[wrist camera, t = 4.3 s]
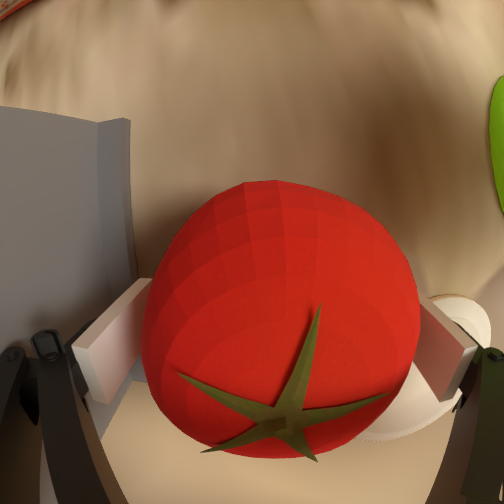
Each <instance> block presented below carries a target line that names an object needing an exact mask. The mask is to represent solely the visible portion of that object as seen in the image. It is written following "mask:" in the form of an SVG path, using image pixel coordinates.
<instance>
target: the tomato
mask: <svg viewBox="0 0 504 504" xmlns="http://www.w3.org/2000/svg"><path fill="white" fill-rule="evenodd" d="M420 331H421V330H420V302H419V297H418V292H417V287H416V283H415V280H414V277H413V274H412V271H411V268H410V266H409V263H408V260H407V259H406V257H405V256H404V254H403V253H402V251H401V250H400V248H399V247H398V245H397V244H396V242H395V241H394V239H393V238H392V237H391V235H390V234H389V232H388V231H387V230H386V228H385V227H384V226H383V225H382V224H380V223H379V222H378V221H377V220H376V219H375V218H374V217H373V216H371V215H370V214H369V213H368V212H367V211H366V210H365V209H363V208H361V207H359V206H357V205H355V204H353V203H351V202H349V201H347V200H345V199H343V198H341V197H340V196H337V195H334V194H331V193H328V192H325V191H322V190H319V189H315V188H312V187H309V186H304V185H299V184H294V183H289V182H283V181H278V180H273V181H258V182H244V183H242V184H240V185H237V186H235V187H233V188H231V189H228V190H226V191H224V192H222V193H220V194H217V195H215V196H214V197H213V198H212V199H210V200H209V201H208V202H207V203H205V204H204V205H203V206H202V207H201V208H199V209H198V210H197V211H196V212H195V213H193V214H192V215H191V217H190V218H189V219H188V220H187V222H186V223H185V224H184V225H183V226H182V228H181V229H180V230H179V231H178V233H177V234H176V235H175V237H174V238H173V240H172V242H171V244H170V246H169V247H168V249H167V251H166V253H165V255H164V256H163V258H162V260H161V262H160V264H159V266H158V268H157V270H156V272H155V275H154V278H153V281H152V284H151V288H150V291H149V294H148V297H147V302H146V307H145V312H144V317H143V324H142V336H141V361H142V365H143V368H144V372H145V375H146V379H147V382H148V385H149V388H150V392H151V395H152V396H153V398H154V400H155V402H156V404H157V405H158V407H159V409H160V410H161V411H162V413H163V414H164V415H165V416H166V417H167V418H168V419H169V420H170V421H171V422H172V423H173V424H174V425H175V426H176V427H177V428H178V429H180V430H181V431H182V432H183V433H185V434H186V435H188V436H190V437H191V438H193V439H195V440H196V441H198V442H200V443H203V444H205V445H208V446H210V447H212V448H211V449H208V450H205V451H202V452H211V451H218V450H221V451H225V452H228V453H231V454H236V455H241V456H247V457H254V458H296V457H304V456H306V457H308V458H310V459H312V460H314V461H316V462H318V461H317V459H316V457H315V456H314V455H316V454H319V453H324V452H327V451H331V450H333V449H335V448H337V447H339V446H341V445H344V444H346V443H348V442H349V441H350V440H352V439H353V438H355V437H356V436H357V435H359V434H360V433H361V432H363V431H364V430H365V429H366V428H368V427H369V426H370V425H371V424H372V423H373V422H374V421H375V420H376V419H377V418H378V417H379V416H380V415H381V414H382V413H383V412H384V411H385V410H386V409H387V408H388V407H389V405H390V404H391V403H392V402H393V400H394V399H395V398H396V396H397V395H398V394H399V392H400V390H401V388H402V386H403V384H404V382H405V380H406V378H407V376H408V374H409V371H410V367H411V364H412V361H413V357H414V354H415V350H416V347H417V343H418V339H419V335H420ZM202 452H201V453H202Z"/></svg>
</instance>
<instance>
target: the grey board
mask: <svg viewBox="0 0 504 504" xmlns="http://www.w3.org/2000/svg"><path fill="white" fill-rule="evenodd" d="M137 280H138V272H137V264H136V256H135V246H134V236H133V224H132V210H131V191H130V120H128V119H125V118H119V119H114V120H109V121H104V122H99V123H97V122H92V121H88V120H83V119H78V118H73V117H68V116H63V115H58V114H52V113H46V112H40V111H34V110H27V109H20V108H12V107H4V106H0V355H1V354H2V353H3V352H4V351H5V350H6V349H7V348H10V347H15V346H18V347H21V348H23V349H24V351H25V353H26V356H27V357H30V358H36V355H35V353H34V351H33V348H32V346H31V343H30V339H31V337H32V336H33V335H34V334H35V333H37V332H39V331H41V330H44V329H55V330H57V331H58V332H59V334H60V337H61V340H62V342H63V345H65V344H66V343H67V342H68V341H69V340H70V339H71V338H72V337H73V336H74V335H75V334H76V333H77V332H78V331H79V330H80V329H81V328H82V327H83V326H84V325H85V324H86V323H87V322H88V321H90V320H92V319H94V318H99V317H100V316H101V315H102V314H103V313H104V312H105V311H106V310H107V309H108V308H109V307H110V306H111V305H112V304H113V303H114V302H115V301H116V300H117V299H118V298H119V297H120V296H121V295H122V294H123V293H124V292H125V291H126V290H127V289H129V288H130V287H131V286H132V285H133V284H134V283H135V282H136V281H137ZM133 380H134V381H139V382H145V383H148V382H147V379H146V375H145V372H144V368H143V365H142V361H141V353H140V354H139V356H138V358H137V359H136V361H135V363H134V364H133V366H132V367H131V369H130V371H129V372H128V374H127V376H126V377H125V379H124V381H123V382H122V384H121V386H120V387H119V389H118V391H117V392H116V394H115V396H114V397H113V399H112V401H111V402H110V404H109V405H108V404H104V403H101V402H97V401H94V400H93V398H92V396H91V394H90V392H89V391H88V392H87V394H86V395H85V398H86V400H87V402H88V406H89V409H90V412H91V416H92V419H93V422H94V425H95V428H96V431H97V433H98V436H99V439H100V440H101V439H102V437H103V435H104V433H105V431H106V429H107V427H108V425H109V423H110V421H111V419H112V417H113V416H114V414H115V412H116V410H117V408H118V406H119V404H120V403H121V401H122V399H123V397H124V395H125V393H126V392H127V390H128V388H129V386H130V384H131V382H132V381H133ZM40 504H58V502H57V499H56V495H55V492H54V488H53V485H52V481H51V477H50V473H49V469H48V464H47V459H46V454H45V449H44V443H43V440H42V450H41V464H40Z"/></svg>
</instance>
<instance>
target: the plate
mask: <svg viewBox="0 0 504 504" xmlns="http://www.w3.org/2000/svg"><path fill="white" fill-rule="evenodd" d="M429 300H430V301H431V302H433V303H434V304H435V305H436V306H437V307H438V308H439V309H440V310H441V311H443V312H444V313H445V314H446V315H447V316H448V317H449V318H450V319H451V320H453V321H454V322H456V323H458V324H459V325H461V326H462V327H463V328H464V329H465V331H467V332H468V333H469V335H471V336H472V337H473V338H474V339H475V340H476V341H477V342H478V343H479V344H480V345H481V346H482V347H483V348H484V349H485V348H487V347H489V346H490V339H491V327H490V322H489V319H488V316H487V314H486V313H485V311H484V310H483V309H482V307H481V306H479V305H478V304H477V303H475V302H474V301H473V300H472V299H470V298H467V297H465V296H461V295H456V294H447V295H441V296H435V297H432V298H429ZM461 394H462V392H461V390H460V389H459V388H458V390H457V392H456V393H455V395H454V397H453V399H450V400H447V401H444V402H440V403H439V401H438V399H437V398H436V396H435V395H434V393H433V391H432V390H431V388H430V387H429V385H428V384H427V382H426V381H425V379H424V378H423V376H422V374H421V373H420V371H419V370H418V368H417V367H416V365H415V364H414V363H413V361H412V364H411V367H410V371H409V374H408V376H407V378H406V380H405V382H404V384H403V386H402V388H401V390H400V392H399V394H398V395H397V396H396V398H395V399H394V400H393V402H392V403H391V404H390V405H389V407H388V408H387V409H386V410H385V411H384V412H383V413H382V414H381V415H380V416H379V417H378V418H377V419H376V420H375V421H374V422H373V423H372V424H371V425H370V426H369V427H368V428H366V429H365V430H364V431H363V432H361V433H360V434H359V435H357V436H356V437H355V438H354V439H358V440H363V441H384V440H390V439H395V438H398V437H402V436H405V435H408V434H410V433H413V432H415V431H417V430H419V429H421V428H423V427H425V426H427V425H428V424H430V423H431V422H433V421H435V420H436V419H438V418H439V417H440V416H442V415H443V414H444V413H445V412H447V411H448V410H449V409H450V408H451V407H453V406H454V405H455V404H456V403H457V401H458V400H459V398H460V396H461Z"/></svg>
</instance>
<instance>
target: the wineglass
mask: <svg viewBox="0 0 504 504" xmlns="http://www.w3.org/2000/svg"><path fill="white" fill-rule="evenodd" d="M489 133H490V146H491V159H492V165H493V171H494V178H495V185H496V188H497V192H498V196H499V200H500V204H501V208H502V211H503V213H504V76H502V77H500V79H499V81H498V82H497V84H496V86H495V87H494V91H493V95H492V100H491V104H490V124H489Z"/></svg>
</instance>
